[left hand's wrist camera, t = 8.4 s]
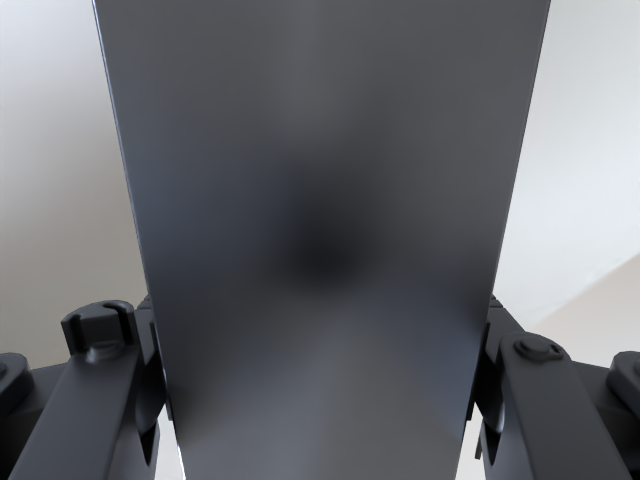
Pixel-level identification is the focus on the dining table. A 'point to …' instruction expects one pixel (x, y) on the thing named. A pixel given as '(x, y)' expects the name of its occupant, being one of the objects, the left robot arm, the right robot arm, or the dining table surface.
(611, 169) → the dining table surface
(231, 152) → the bar
